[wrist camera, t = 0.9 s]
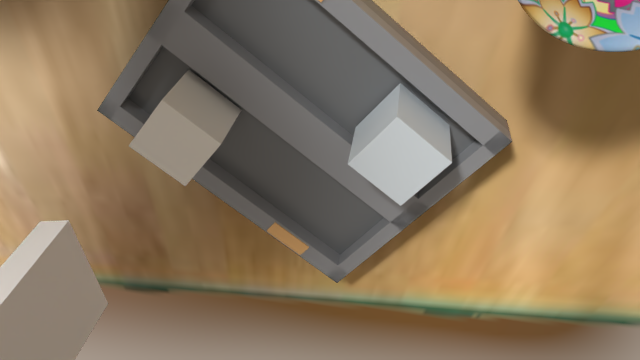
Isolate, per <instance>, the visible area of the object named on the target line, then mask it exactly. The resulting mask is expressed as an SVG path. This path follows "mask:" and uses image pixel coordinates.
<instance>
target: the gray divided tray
mask: <svg viewBox="0 0 640 360" xmlns="http://www.w3.org/2000/svg"><path fill="white" fill-rule="evenodd" d="M188 70H191V71H192V72H193V73H194V74H196V75H197V76H198V77H200V78H201V79H202V80H203V81H205V82H206V83H207V84H209V85H210V86H211V87H212V88H214V89H215V90H216V91H218V92H219V93H220V94H222V95H223V96H224V97H225V98H227V99H228V100H229V101H231V102H232V103H233V104H234V105H236V106H237V107H238V108H240V109H241V112H240V113H239V115H238V117H237V118H236V120H235V122H234V123H233V125H232V127H231V128H230V130H229V132H228V133H227V135H226V137H225V138H224V140H223V142H222V144H221V145H220V146H219V147H218V148H217V150H216V151H215V152H214V153H213V154H212V155H211V157H210V158H209V159H208V160H207V161H206V163H205V164H204V165H203V166H202V167H201V168H200V170H199V171H198V172H197V173H196V174H195V176H194V177H193V178H192V179H193V180H195V181H196V182H197V183H199V184H200V185H202V186H203V187H204V188H206V189H207V190H209V191H210V192H211V193H213V194H214V195H216V196H217V197H218V198H220V199H221V200H222V201H224V202H225V203H227V204H228V205H229V206H231V207H232V208H234V209H235V210H236V211H238V212H239V213H241V214H242V215H243V216H245V217H246V218H247V219H249V220H250V221H252V222H253V223H254V224H256V225H257V226H259V227H260V228H261V229H263V230H264V231H266V232H267V233H268V234H270V235H271V236H273V237H274V238H275V239H277V240H278V241H279V242H281V243H282V244H284V245H285V246H286V247H288V248H289V249H291V250H292V251H293V252H295V253H296V254H298V255H299V256H300V257H302V258H303V259H304V260H306V261H307V262H309V263H310V264H311V265H313V266H314V267H316V268H317V269H318V270H320V271H321V272H323V273H324V274H325V275H327V276H328V277H329V278H331V279H332V280H334V281H335V282H336V283H338V282H339V281H340V280H341V279H343V278H344V277H345V276H346V275H348V274H349V273H350V272H351V271H353V270H354V269H355V268H356V267H357V266H359V265H360V264H361V263H362V262H364V261H365V260H366V259H367V258H369V257H370V256H371V255H372V254H374V253H375V252H376V251H377V250H378V249H380V248H381V247H382V246H383V245H385V244H386V243H387V242H388V241H390V240H391V239H392V238H393V237H395V236H396V235H397V234H398V233H400V232H401V231H402V230H403V229H404V228H406V227H407V226H408V225H409V224H411V223H412V222H413V221H414V220H416V219H417V218H418V217H419V216H421V215H422V214H423V213H424V212H426V211H427V210H428V209H429V208H430V207H432V206H433V205H434V204H435V203H437V202H438V201H439V200H440V199H442V198H443V197H444V196H445V195H447V194H448V193H449V192H450V191H451V190H453V189H454V188H455V187H456V186H458V185H459V184H460V183H461V182H463V181H464V180H465V179H466V178H468V177H469V176H470V175H471V174H473V173H474V172H475V171H476V170H477V169H479V168H480V167H481V166H482V165H484V164H485V163H486V162H487V161H489V160H490V159H491V158H492V157H494V156H495V155H496V154H497V153H499V152H500V151H501V150H502V149H503V148H505V147H506V146H507V145H508V144H510V143H511V142H512V139H511V135H510V131H509V127H508V123H507V120H506V119H504V118H503V117H502V116H501V115H500V114H499V113H498V112H497V111H495V110H494V109H493V108H492V107H491V106H490V105H489V104H488V103H486V102H485V101H484V100H483V99H482V98H481V97H480V96H479V95H478V94H476V93H475V92H474V91H473V90H472V89H471V88H470V87H469V86H467V85H466V84H465V83H464V82H463V81H462V80H461V79H460V78H458V77H457V76H456V75H455V74H454V73H453V72H452V71H451V70H449V69H448V68H447V67H446V66H445V65H444V64H443V63H442V62H440V61H439V60H438V59H437V58H436V57H435V56H434V55H433V54H431V53H430V52H429V51H428V50H427V49H426V48H425V47H424V46H422V45H421V44H420V43H419V42H418V41H417V40H416V39H415V38H413V37H412V36H411V35H410V34H409V33H408V32H407V31H406V30H405V29H403V28H402V27H401V26H400V25H399V24H398V23H397V22H396V21H394V20H393V19H392V18H391V17H390V16H389V15H388V14H387V13H385V12H384V11H383V10H382V9H381V8H380V7H379V6H378V5H376V4H375V3H374V2H373V1H372V0H169V1H168V2H167V4H166V5H165V7H164V8H163V10H162V12H161V13H160V15H159V16H158V18H157V19H156V21H155V22H154V24H153V25H152V27H151V28H150V30H149V32H148V33H147V35H146V36H145V38H144V39H143V41H142V42H141V44H140V45H139V47H138V48H137V50H136V52H135V53H134V55H133V56H132V58H131V59H130V61H129V62H128V64H127V65H126V67H125V68H124V70H123V72H122V73H121V75H120V76H119V78H118V79H117V81H116V82H115V84H114V85H113V87H112V88H111V90H110V92H109V93H108V95H107V96H106V98H105V99H104V101H103V102H102V104H101V105H100V107H99V108H98V110H97V111H99V112H100V113H102V114H103V115H104V116H106V117H107V118H109V119H110V120H111V121H113V122H114V123H115V124H117V125H118V126H120V127H121V128H122V129H124V130H125V131H127V132H128V133H129V134H131V135H132V136H134V137H135V136H136V135H137V133H138V132H139V131H140V129H141V128H142V127H143V125H144V124H145V122H146V121H147V120H148V118H149V117H150V115H151V114H152V113H153V111H154V110H155V109H156V107H157V106H158V104H159V103H160V102H161V100H162V99H163V98H164V97H165V96H166V95H167V93H168V92H169V91H170V90H171V89H172V88H173V87H174V86H175V84H176V83H177V82H178V81H179V80H180V79H181V78H182V77H183V75H184V74H185V73H186V72H187V71H188ZM400 83H401V84H402V85H403V86H404V87H406V88H407V89H408V90H409V91H410V92H411V93H413V94H414V95H415V96H416V97H417V98H418V99H420V100H421V101H422V102H423V103H424V104H425V105H427V106H428V107H429V108H430V109H431V110H432V111H434V112H435V113H436V114H437V115H438V116H439V117H441V118H442V119H443V120H444V121H445V122H446V123H448V124H449V126H450V140H451V153H452V163H451V164H450V165H449V166H448V167H447V168H445V169H444V170H443V171H442V172H441V173H439V174H438V175H437V176H436V177H435V178H433V179H432V180H431V181H430V182H429V183H427V184H426V185H425V186H424V187H423V188H422V189H420V190H419V191H418V192H417V193H416V194H414V195H413V196H412V197H411V198H410V199H408V200H407V201H406V202H405V203H404V204H402V205H401V206H400V205H399V204H398V203H396V202H395V201H394V200H393V199H391V198H390V197H389V196H387V195H386V194H385V193H384V192H382V191H381V190H380V189H379V188H377V187H376V186H375V185H373V184H372V183H371V182H370V181H368V180H367V179H366V178H365V177H363V176H362V175H361V174H360V173H358V172H357V171H356V170H354V169H353V168H352V167H351V166H349V165H348V160H349V155H350V151H351V146H352V141H353V137H354V132H355V127H356V126H357V125H358V124H359V123H360V122H361V121H362V120H363V119H364V118H365V117H366V116H367V115H368V114H369V113H371V112H372V111H373V110H374V109H375V108H376V107H377V106H378V105H379V104H380V103H381V102H382V101H383V100H384V99H385V98H386V97H387V96H388V95H389V94H390V93H391V92H392V91H393V90H394V89H395V88H396V87H397V86H398V85H399V84H400Z"/></svg>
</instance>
